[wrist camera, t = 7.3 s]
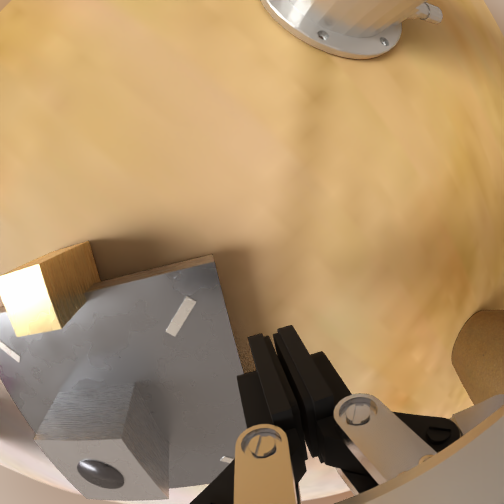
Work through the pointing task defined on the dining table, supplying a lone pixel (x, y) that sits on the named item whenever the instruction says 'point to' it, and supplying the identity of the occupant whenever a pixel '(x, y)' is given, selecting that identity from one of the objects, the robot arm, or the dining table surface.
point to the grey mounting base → (128, 349)
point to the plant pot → (481, 355)
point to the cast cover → (107, 444)
